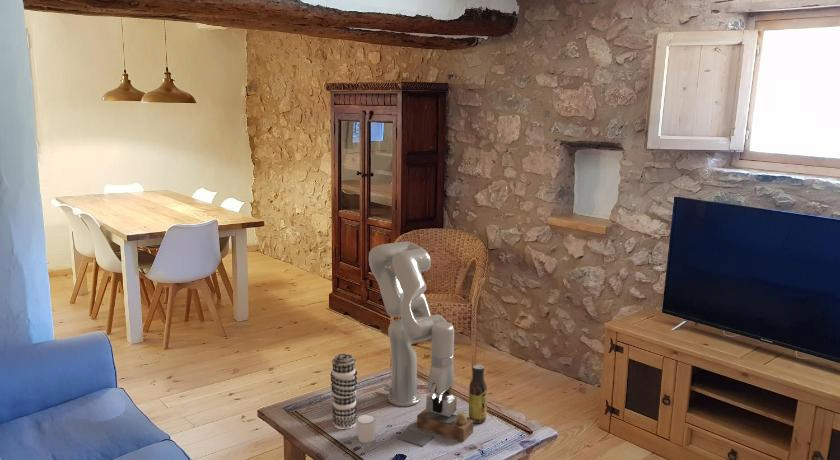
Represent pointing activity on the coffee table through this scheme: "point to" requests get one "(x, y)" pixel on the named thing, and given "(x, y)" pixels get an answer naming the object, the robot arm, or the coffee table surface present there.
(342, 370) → the model tower building
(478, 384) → the sauce bottle
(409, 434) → the rubber mat
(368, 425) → the white cylinder
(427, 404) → the grey box with knob
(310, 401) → the coffee table surface
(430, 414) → the hand plane
